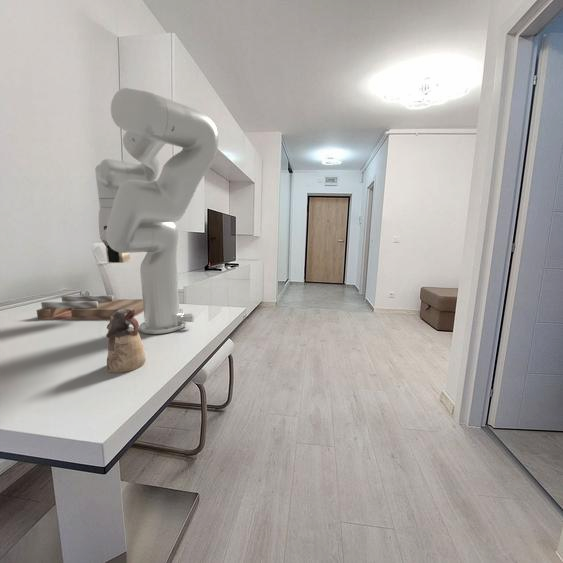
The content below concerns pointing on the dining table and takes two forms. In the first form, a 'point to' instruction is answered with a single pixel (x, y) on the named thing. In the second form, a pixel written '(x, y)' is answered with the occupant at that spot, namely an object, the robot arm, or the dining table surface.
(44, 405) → the dining table surface
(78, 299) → the trap deck
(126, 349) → the figurine
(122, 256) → the block
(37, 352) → the dining table surface
